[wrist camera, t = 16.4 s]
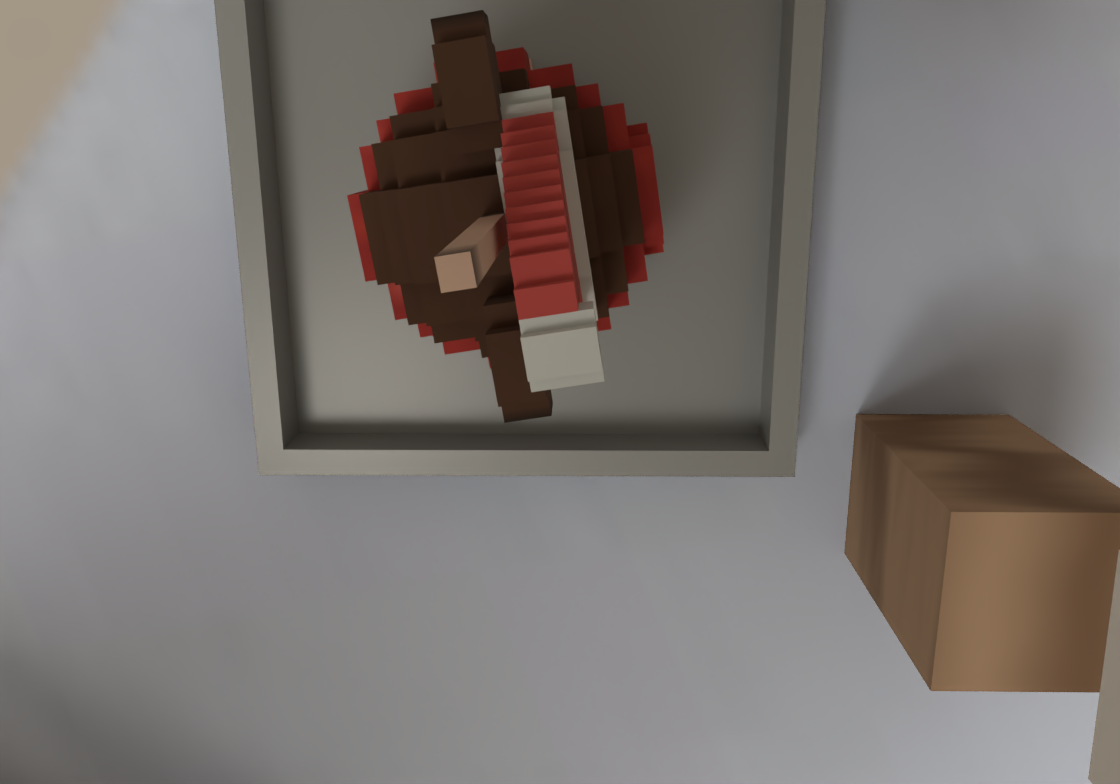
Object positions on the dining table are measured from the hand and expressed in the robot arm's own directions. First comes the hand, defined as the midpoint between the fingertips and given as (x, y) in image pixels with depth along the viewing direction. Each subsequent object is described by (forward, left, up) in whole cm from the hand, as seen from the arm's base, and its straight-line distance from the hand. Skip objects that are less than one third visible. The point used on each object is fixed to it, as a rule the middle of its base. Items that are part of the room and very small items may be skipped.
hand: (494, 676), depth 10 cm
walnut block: (+15, -8, -27) cm, 32 cm away
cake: (-1, +3, -26) cm, 27 cm away
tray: (-1, +3, -27) cm, 27 cm away
